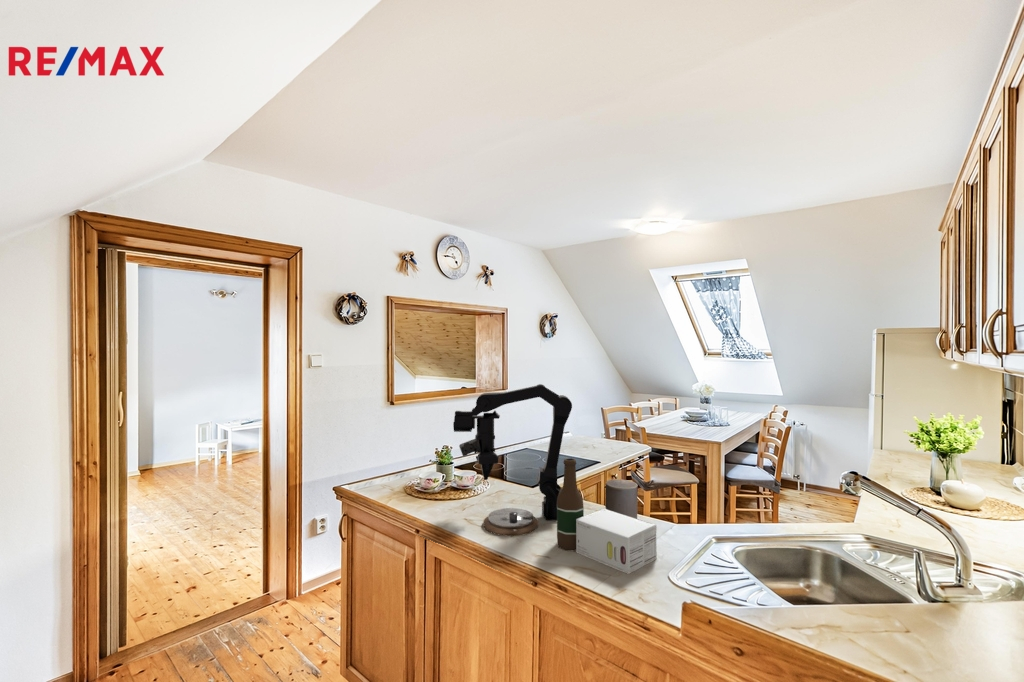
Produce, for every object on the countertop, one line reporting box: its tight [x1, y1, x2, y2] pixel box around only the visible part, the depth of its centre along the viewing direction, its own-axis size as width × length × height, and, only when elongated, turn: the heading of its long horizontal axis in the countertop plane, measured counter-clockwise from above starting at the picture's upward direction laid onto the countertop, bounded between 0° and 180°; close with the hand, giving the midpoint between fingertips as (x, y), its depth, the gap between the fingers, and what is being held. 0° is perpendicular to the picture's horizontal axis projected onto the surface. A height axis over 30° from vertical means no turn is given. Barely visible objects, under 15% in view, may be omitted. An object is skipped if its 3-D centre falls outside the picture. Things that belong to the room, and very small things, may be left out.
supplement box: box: [575, 508, 658, 575], centre depth 129 cm, size 17×13×9 cm
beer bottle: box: [556, 457, 585, 552], centre depth 136 cm, size 8×8×24 cm
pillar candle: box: [604, 478, 639, 519], centre depth 148 cm, size 10×10×15 cm
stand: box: [483, 515, 539, 537], centre depth 151 cm, size 17×17×1 cm
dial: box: [487, 507, 534, 529], centre depth 151 cm, size 14×14×4 cm
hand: (485, 479), depth 159 cm, fingers closed
